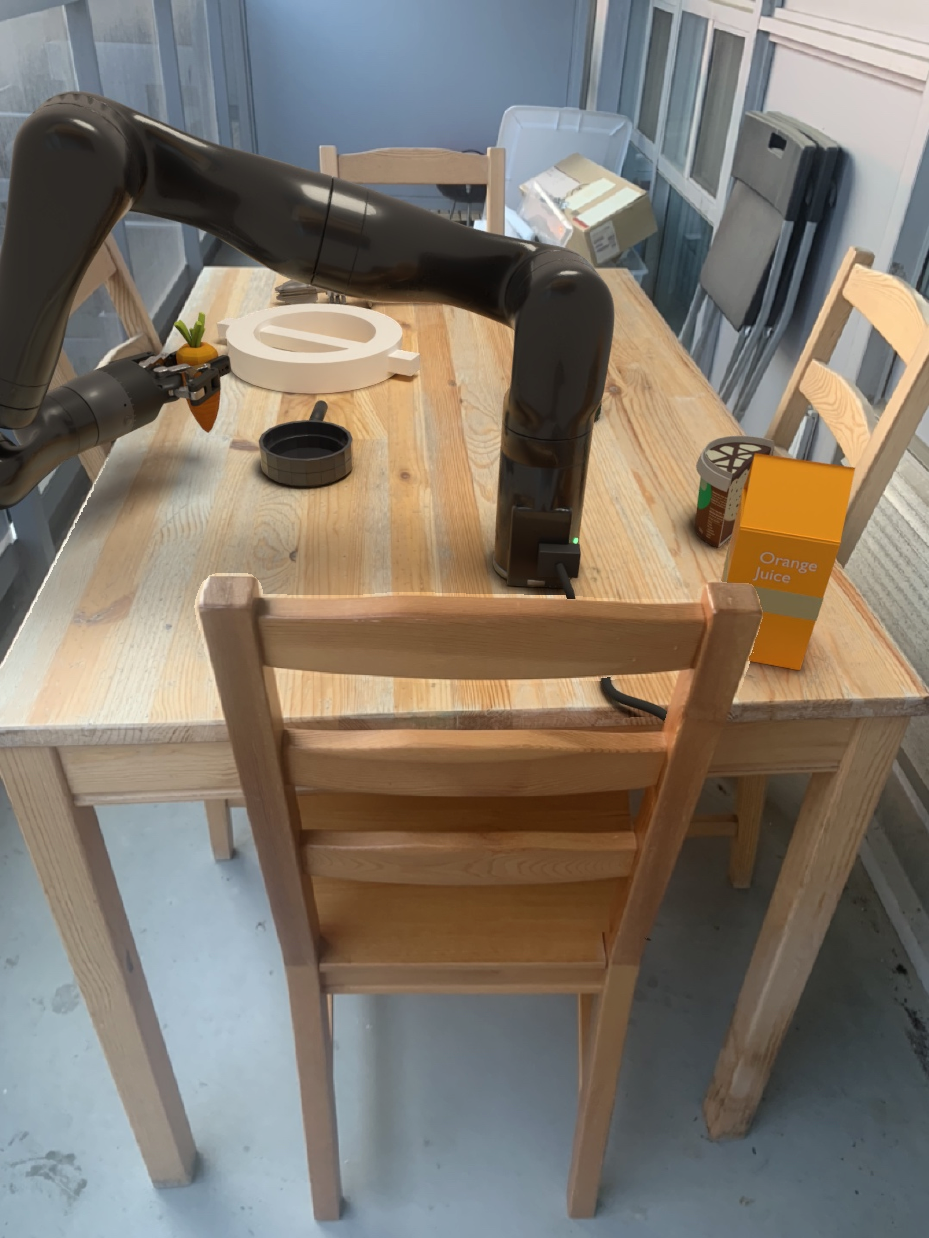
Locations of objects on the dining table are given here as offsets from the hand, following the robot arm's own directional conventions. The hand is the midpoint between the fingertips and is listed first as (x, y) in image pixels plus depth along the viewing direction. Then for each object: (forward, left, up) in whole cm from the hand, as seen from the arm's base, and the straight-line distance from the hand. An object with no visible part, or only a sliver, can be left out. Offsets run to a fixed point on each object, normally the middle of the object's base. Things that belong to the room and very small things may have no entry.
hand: (210, 358), depth 114 cm
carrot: (-2, +1, -9) cm, 9 cm away
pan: (-2, -12, -13) cm, 18 cm away
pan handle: (+7, -12, -11) cm, 17 cm away
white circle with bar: (+36, -7, -13) cm, 39 cm away
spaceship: (+64, -12, -13) cm, 67 cm away
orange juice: (-35, -63, -13) cm, 73 cm away
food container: (-12, -63, -13) cm, 65 cm away
